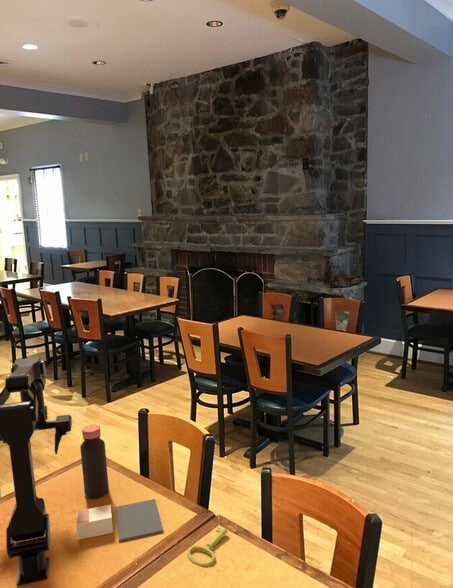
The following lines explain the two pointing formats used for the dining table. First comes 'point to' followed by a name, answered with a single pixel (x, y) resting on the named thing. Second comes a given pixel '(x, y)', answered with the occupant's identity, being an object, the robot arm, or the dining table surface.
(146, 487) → the dining table surface
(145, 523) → the mat
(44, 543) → the robot arm
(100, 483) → the bottle
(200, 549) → the key
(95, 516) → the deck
